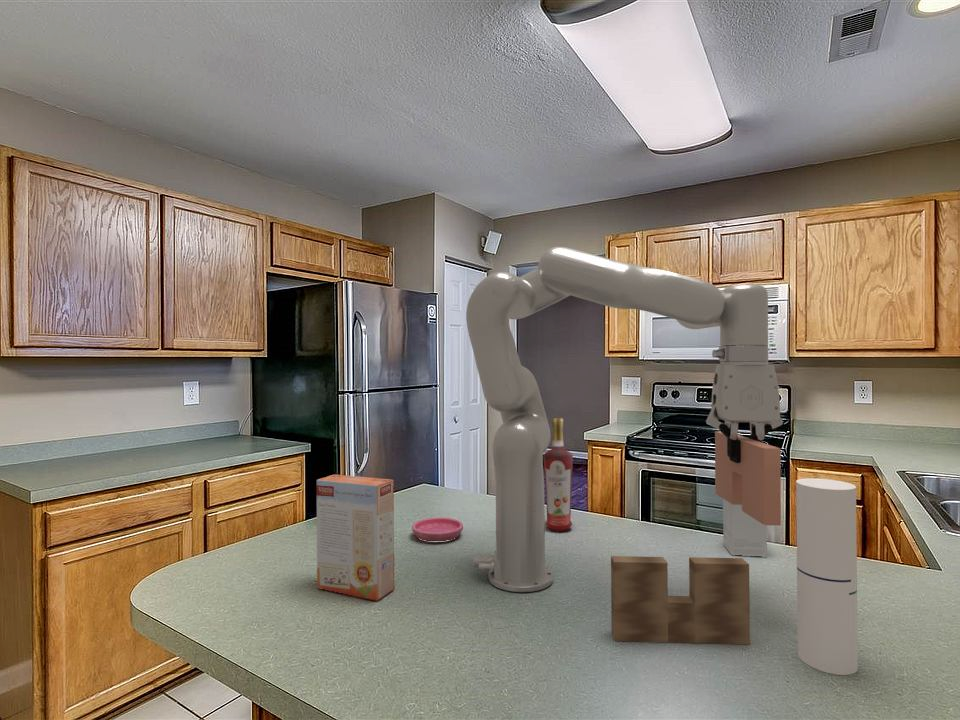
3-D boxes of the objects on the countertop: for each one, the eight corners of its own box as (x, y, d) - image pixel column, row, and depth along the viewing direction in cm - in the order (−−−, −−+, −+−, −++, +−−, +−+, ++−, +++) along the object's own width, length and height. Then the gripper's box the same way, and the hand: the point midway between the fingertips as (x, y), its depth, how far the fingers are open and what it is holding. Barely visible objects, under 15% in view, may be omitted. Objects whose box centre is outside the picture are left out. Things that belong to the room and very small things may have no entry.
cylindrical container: (786, 648, 79) (784, 478, 79) (832, 645, 79) (830, 477, 79) (821, 676, 72) (819, 490, 72) (871, 673, 72) (869, 488, 72)
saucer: (468, 542, 126) (468, 529, 126) (416, 548, 123) (416, 534, 123) (456, 527, 138) (456, 515, 138) (408, 532, 135) (408, 519, 135)
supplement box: (767, 558, 115) (767, 499, 115) (730, 555, 116) (730, 497, 116) (757, 546, 122) (756, 491, 122) (722, 544, 123) (722, 489, 123)
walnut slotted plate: (614, 640, 81) (613, 562, 81) (611, 632, 84) (610, 556, 84) (749, 644, 80) (749, 564, 80) (742, 635, 82) (742, 558, 82)
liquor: (574, 525, 138) (573, 417, 138) (572, 534, 131) (571, 420, 131) (545, 523, 140) (545, 417, 140) (542, 532, 133) (541, 420, 133)
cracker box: (396, 589, 100) (395, 478, 100) (377, 603, 95) (376, 485, 95) (337, 577, 106) (336, 472, 106) (315, 589, 100) (314, 478, 101)
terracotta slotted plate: (780, 525, 83) (780, 448, 83) (764, 525, 83) (763, 448, 83) (728, 493, 103) (728, 431, 103) (715, 493, 103) (715, 431, 103)
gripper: (704, 356, 90) (704, 465, 90) (803, 356, 89) (803, 466, 89) (689, 356, 97) (689, 457, 97) (780, 356, 96) (780, 458, 96)
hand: (744, 460), depth 93 cm, fingers closed on terracotta slotted plate, 2 cm apart
